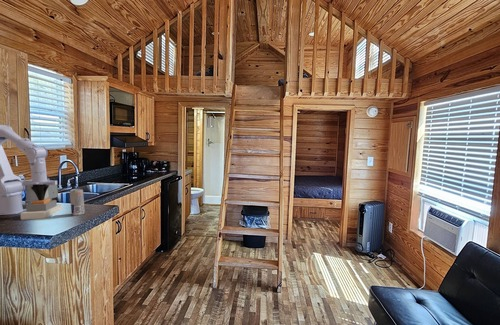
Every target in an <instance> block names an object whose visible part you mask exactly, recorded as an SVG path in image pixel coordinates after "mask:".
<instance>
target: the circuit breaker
mask: <svg viewBox="0 0 500 325" xmlns="http://www.w3.org/2000/svg"><path fill="white" fill-rule="evenodd" d="M47 180H50V178H49V177H47ZM22 181H23V182H24V181H32V178H31V179H25V180H22ZM31 187H33V186H25V190H24V191H25V200H24V205H25V207H26V205H28V204H30V203H32V201H35V200H38V198H37V196H36V194H35V192H34V191H33V190H32V189H31ZM58 190H59V188H58V184H57V185H49V187H48V189H47V191H46V194H45V198H44V199H50V200H53V199H55V198H58V197H59V192H58Z"/></svg>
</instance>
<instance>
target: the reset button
mask: <svg viewBox="0 0 500 325" xmlns="http://www.w3.org/2000/svg"><path fill="white" fill-rule="evenodd" d="M48 202H51V201H50V199H44V200H41V201H39V200H35V201H32V204H46V203H48Z"/></svg>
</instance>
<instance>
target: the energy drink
mask: <svg viewBox="0 0 500 325" xmlns="http://www.w3.org/2000/svg"><path fill="white" fill-rule="evenodd" d="M69 197H70V198H69V199H70V210H71V211H70V214H71V216H73V217H76V216H77V217H78V216H81V215H84V214H85V212H86V211H85V201H84V200H85V199H84V198H85V197H84V190H83V189H82V188H75V189H70V191H69Z"/></svg>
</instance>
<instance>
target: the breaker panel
mask: <svg viewBox="0 0 500 325" xmlns="http://www.w3.org/2000/svg"><path fill="white" fill-rule="evenodd" d="M50 201H51V202H48V203H46V204H32V203H30V204H28V203H27V205H26V206H25V209H26V210H25V211H23V212H20V213H19V214H20V220H25V221H26V220H44V219H48V218H49V217H51V216H53V215H55V214H57V213H59V212H61V211H63V205H62V204H63V203H61V204H60V203H57V200H56V199H52V200H50Z"/></svg>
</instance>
